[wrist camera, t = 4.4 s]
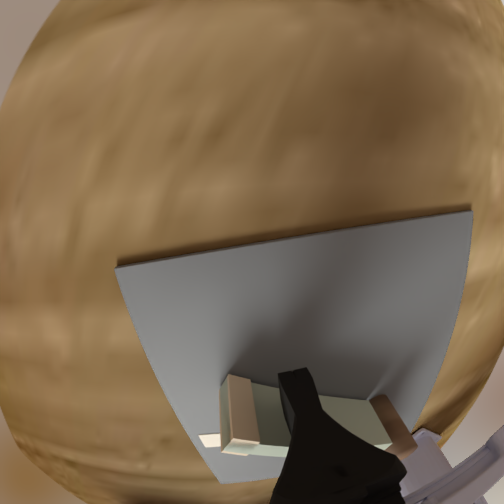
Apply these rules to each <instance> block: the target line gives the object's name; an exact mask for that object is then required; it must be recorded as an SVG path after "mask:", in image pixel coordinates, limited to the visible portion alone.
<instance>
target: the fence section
mask: <svg viewBox="0 0 504 504" xmlns="http://www.w3.org/2000/svg"><path fill="white" fill-rule="evenodd" d="M369 402H370V404H371V405H372V407H373V409H374V411H375V412H376V414H377V416H378V418H379V420H380V421H381V423H382V425H383V427H384V428H385V430H386V432H387V434H388V436H389V437H390V439H391V441H392V444H391V445H390V446H389V447H388V448H386V449H385V450H384V451H387V452H389V453H392V454H394V455H396V456H397V457H398V458H399V459H400V461H401V460H403V459H405V458H406V457H408V456H409V455H411V454H412V453H413V452H414V451H415V450H416V449H417V448H418V445H417V443H416V441H415V440H414V438H413V437H412V435H411V433H410V432H409V430H408V428H407V427H406V425H405V424H404V422H403V420H402V419H401V417H400V416H399V414H398V413H397V411H396V409H395V408H394V406H393V405H392V403H391V402H390V400H389V398H388V397H387V395H384V394H382V395H378V396H376V397H374V398H372V399H371V400H369Z"/></svg>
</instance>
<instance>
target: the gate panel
mask: <svg viewBox="0 0 504 504" xmlns="http://www.w3.org/2000/svg"><path fill="white" fill-rule="evenodd" d="M318 396H319V399H320V402H321V406H322V409H323V410H324V411H325V412H326V413H327V414H328V415H329V416H331V417H332V418H333V419H334V420H335V421H336V422H338V423H339V424H340V425H341V426H343V427H344V428H346V429H347V430H348V431H350V432H351V433H353V434H354V435H356V436H358V437H359V438H361V439H363V440H364V441H366V442H368V443H370V444H372V445H374V446H376V447H378V448H380V449H382V450H385V449H386V448H388V447H389V446H390V445H391V444H392V441H391V439H390V437H389V436H388V434H387V432H386V430H385V428H384V427H383V425H382V423H381V421H380V420H379V418H378V416H377V414H376V412H375V411H374V409H373V407H372V405H371V404H370V402H369V400H358V399H347V398H338V397H330V396H322V395H318ZM219 416H220V441H221V453H228V454H235V455H242V456H247V455H248V454H251V455H261V456H274V457H286V456H287V452H288V449H289V445H290V440H291V435H290V432H289V429H288V426H287V423H286V421H285V418H284V413H283V409H282V405H281V400H280V391H279V388H275V387H270V386H265V385H260V384H256V383H251V380H250V379H247V378H242V377H238V376H235V375H231V374H228V376H227V378H226V379H225V381H224V383H223V384H222V386H221V388H220V389H219Z"/></svg>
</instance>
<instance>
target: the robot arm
mask: <svg viewBox="0 0 504 504" xmlns="http://www.w3.org/2000/svg"><path fill="white" fill-rule="evenodd" d="M277 374H278V382H279V391H280V400H281V405H282V409H283V413H284V418H285V421H286V423H287V426H288V429H289V432H290V435H291V440H290V445H289V449H288V452H287V456H286V459H285V462H284V465H283V468H282V471H281V474H280V476H279V478H278V481H277V483H276V485H275V488H274V490H273V493H272V497H271V500H270V504H487V502H486V500H485V498H484V497H483V495H484V494H485V493H486V492H487V491H488V490H489V489H490V488H491V487H492V486H493V485H494V484H496V482H498V481H499V480H500V479H501V478H502V477H503V476H504V425H503V426H502V427H501V428H500V429H499V430H497V431H496V432H495V433H494V434H493V435H492V436H491V437H490V439H489V440H488V441H487V442H486V444H485V445H483V446H482V447H481V448H480V449H478V450H477V451H476V452H475V453H473V454H472V455H471V456H469V457H468V458H467V459H465V460H464V461H463V462H461V463H460V464H458V465H457V466H455V467H454V468H453V469H452V467H451V465H450V464H449V462H448V461H447V459H446V457H445V456H444V454H443V453H442V451H441V450H440V448H439V446H438V445H437V442H438V441H439V440H440V439H441V438H442V437H441V436H440V435H438V434H436V433H433V432H431V431H429V430H427V429H425V428H421V429H420V430H418V431H417V432H416V433H415V434H413V435H412V437H413V438H414V440H415V441H416V443H417V445H418V448H417V449H416V450H415V451H414V452H413V453H412V454H411V455H409V456H408V457H406V458H405V459H403V460H401V461H400V459H399V458H398V457H397V456H396V455H394V454H392V453H389V452H387V451H384V450H382V449H380V448H378V447H376V446H374V445H372V444H370V443H368V442H366V441H364V440H363V439H361V438H359V437H358V436H356V435H354V434H353V433H351V432H350V431H348V430H347V429H346V428H344V427H343V426H341V425H340V424H339V423H338V422H336V421H335V420H334V419H333V418H332V417H331V416H329V415H328V414H327V413H326V412H325V411H324V410H323V409H322V406H321V402H320V399H319V396H318V393H317V390H316V386H315V383H314V380H313V377H312V376H311V374H310V372H309V370H308V369H307V367H305V368H300V369H296V370H293V371H286V372H281V373H277Z"/></svg>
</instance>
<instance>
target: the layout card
mask: <svg viewBox="0 0 504 504" xmlns="http://www.w3.org/2000/svg"><path fill="white" fill-rule="evenodd" d="M472 225H473V211H472V210H466V211H459V212H452V213H445V214H438V215H431V216H424V217H418V218H411V219H404V220H397V221H391V222H384V223H378V224H371V225H365V226H358V227H352V228H345V229H339V230H332V231H326V232H320V233H313V234H307V235H301V236H294V237H288V238H282V239H276V240H270V241H263V242H257V243H251V244H245V245H239V246H233V247H227V248H221V249H215V250H209V251H203V252H197V253H191V254H185V255H179V256H174V257H168V258H162V259H156V260H150V261H145V262H139V263H133V264H127V265H122V266H116V267H115V269H114V270H115V273H116V277H117V280H118V283H119V286H120V289H121V292H122V295H123V298H124V300H125V303H126V306H127V309H128V311H129V314H130V317H131V319H132V322H133V324H134V327H135V329H136V332H137V334H138V337H139V339H140V342H141V344H142V346H143V349H144V351H145V353H146V355H147V358H148V360H149V362H150V364H151V366H152V369H153V371H154V373H155V375H156V377H157V379H158V381H159V383H160V385H161V387H162V389H163V391H164V393H165V395H166V397H167V399H168V401H169V402H170V404H171V406H172V408H173V410H174V412H175V413H176V415H177V417H178V419H179V421H180V422H181V424H182V426H183V427H184V429H185V431H186V432H187V434H188V436H189V437H190V439H191V441H192V442H193V444H194V445H195V447H196V448H197V450H198V452H199V453H200V455H201V456H202V458H203V459H204V461H205V462H206V464H207V465H208V466H209V468H210V469H211V471H212V472H213V474H214V475H215V476H216V478H217V479H218V481H219V482H220V483H221V484H227V483H239V482H248V481H256V480H263V479H269V478H275V477H279V476H280V474H281V471H282V468H283V465H284V462H285V459H286V457H274V456H261V455H251V454H248V455H247V456H242V455H235V454H228V453H221V441H220V416H219V389H220V388H221V386H222V384H223V383H224V381H225V379H226V378H227V376H228V374H231V375H235V376H238V377H242V378H247V379H250V380H251V383H256V384H260V385H265V386H270V387H275V388H279V382H278V374H277V373H281V372H286V371H293V370H296V369H300V368H305V367H307V369H308V370H309V372H310V374H311V376H312V377H313V380H314V383H315V386H316V390H317V393H318V395H322V396H330V397H338V398H347V399H358V400H371V399H372V398H374V397H376V396H378V395H382V394H384V395H387V397H388V398H389V400H390V402H391V403H392V405H393V406H394V408H395V409H396V411H397V413H398V414H399V416H400V417H401V419H402V420H403V422H404V424H405V425H406V427H407V428H408V430H409V432H410V433H411V431H412V429H413V427H414V426H415V424H416V422H417V420H418V418H419V416H420V414H421V412H422V410H423V408H424V406H425V404H426V402H427V399H428V397H429V395H430V393H431V390H432V388H433V386H434V383H435V381H436V378H437V376H438V373H439V371H440V368H441V366H442V363H443V360H444V357H445V355H446V352H447V349H448V346H449V343H450V339H451V336H452V333H453V329H454V326H455V322H456V319H457V315H458V311H459V307H460V303H461V298H462V294H463V289H464V284H465V279H466V273H467V267H468V261H469V254H470V246H471V236H472Z"/></svg>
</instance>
